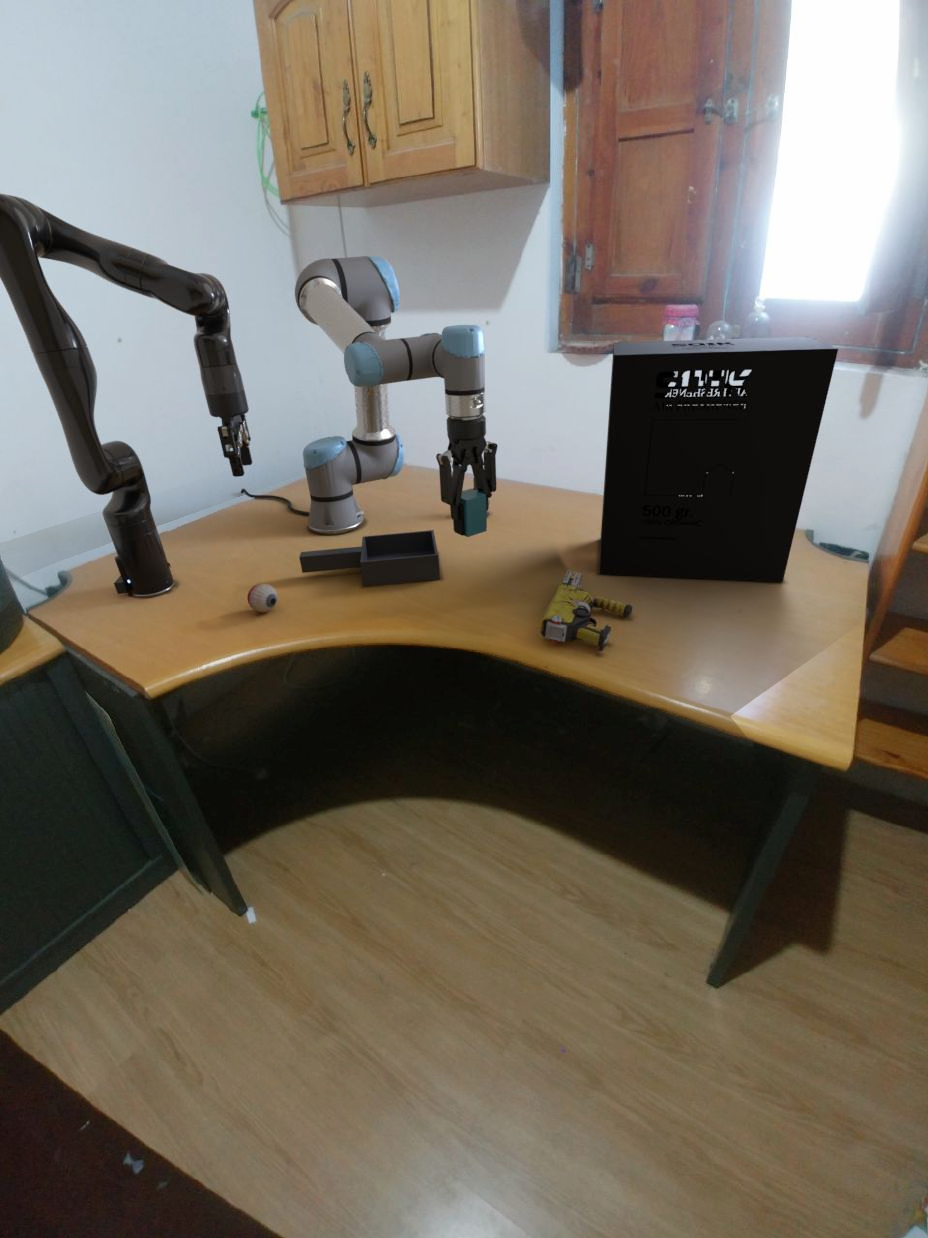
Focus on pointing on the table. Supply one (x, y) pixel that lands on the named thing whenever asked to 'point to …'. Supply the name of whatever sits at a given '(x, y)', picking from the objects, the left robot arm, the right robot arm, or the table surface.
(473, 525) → the block
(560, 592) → the toy gun
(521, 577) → the table surface
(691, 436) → the cardboard box
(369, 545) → the tray
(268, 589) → the eyeball
